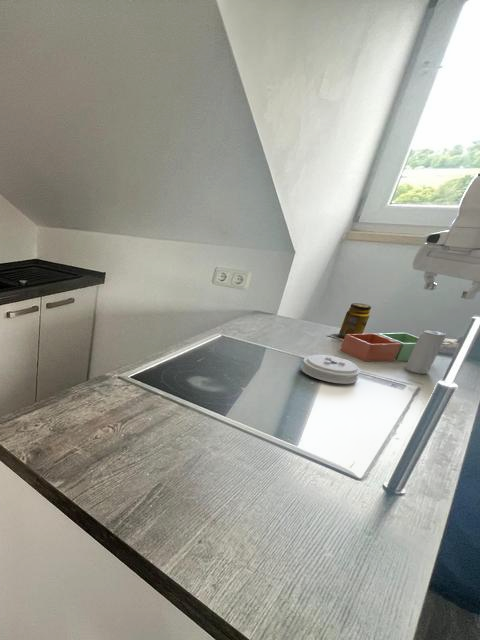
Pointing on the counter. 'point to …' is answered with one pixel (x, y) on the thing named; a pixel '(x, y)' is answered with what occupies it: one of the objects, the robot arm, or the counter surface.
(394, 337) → the green bin
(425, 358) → the beverage can
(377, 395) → the counter surface
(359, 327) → the condiment
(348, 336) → the terracotta bin
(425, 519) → the counter surface
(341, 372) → the lid
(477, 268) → the robot arm
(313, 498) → the counter surface
